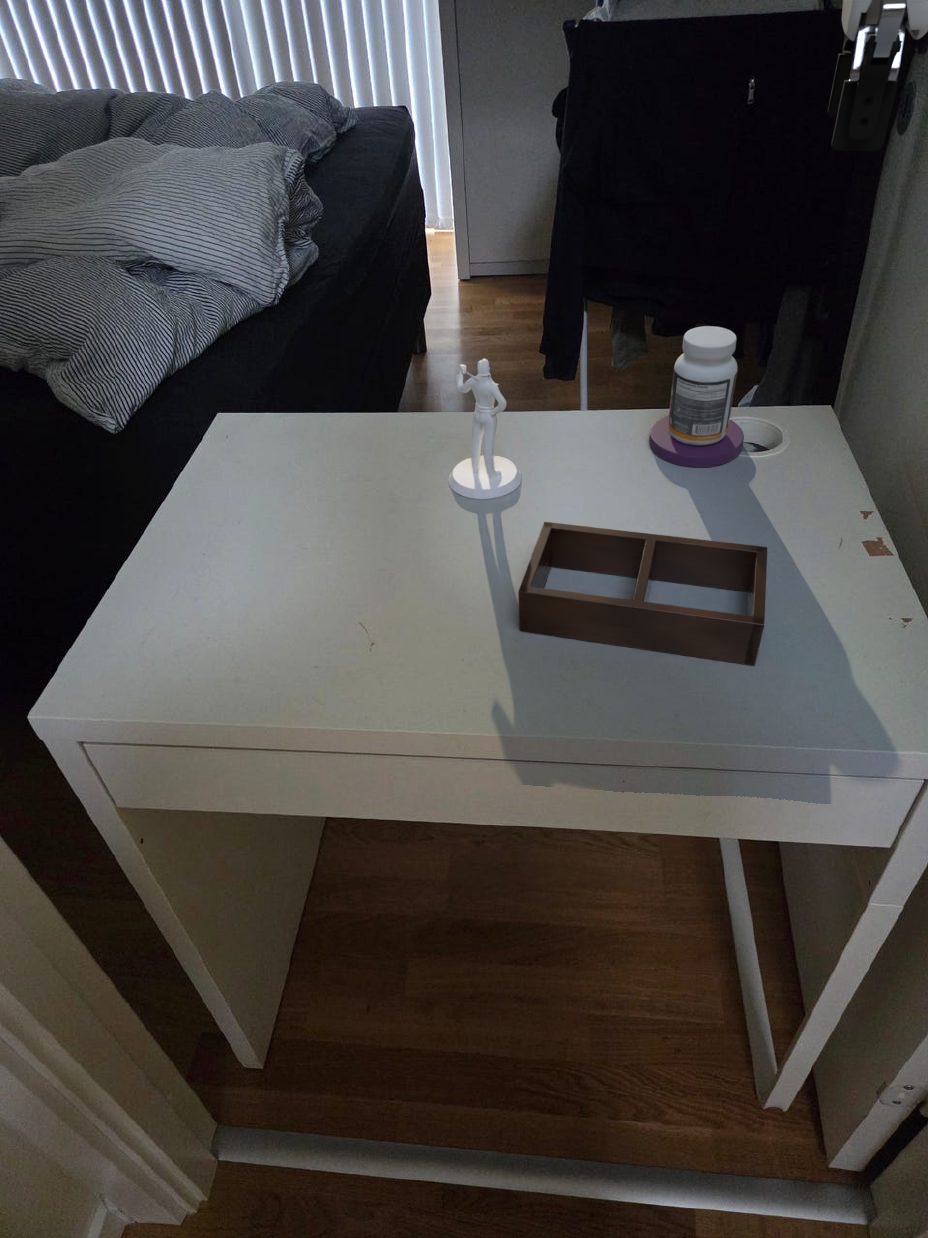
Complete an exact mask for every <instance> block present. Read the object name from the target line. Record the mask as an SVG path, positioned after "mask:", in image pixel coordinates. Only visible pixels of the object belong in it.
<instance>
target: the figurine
mask: <svg viewBox="0 0 928 1238" xmlns="http://www.w3.org/2000/svg"><path fill="white" fill-rule="evenodd" d="M490 369H491V367H490V362H489V360H488V359H487V358H482V359H481V360H478V362H477V367H476V370H477V374H476V375H473V374H472V373H471V372H469V371H468V370H467V365H466V364H459V367H458V372H457V375H456V377H455V378H456V379H455V380H456V381H455V387H456V390H457V391H458V392H459V393H462V394H463V393H464V394H467V393H469V392H470V391H471V392H472V395H473V396H474V399H475V407H474V411H473V416H472V427H471V429H472V430H471V443H470V445H471V446H470V448H471V450H470V455H471V457H469V458H465V459H463V460H462V461H460V462H458V463H457V464H456V465H455V466H454V468H453V470H452V471H451V472H450V474H449V476H448V484H449V487H450V488H451V490H452V491H453V492H455V493H456V494H458V495H460V496H462V497H465V498H468V499H474V500H489V499H497V498H500V497H504V496H505V495H509V494H510V493H512V492H513V491H515V490H516V489H517V488H519V486H520V484H521V483H522V480H523V476H522V473H521V471H520V469H519V468H518V467H517V466H516V464H515V463H514V462H513V461H511V460H510V459H508V458H505V457H503V456H498V455H494V454H495V453H494V451H495V450H494V449H495V448H494V447H495V440H496V439H495V437H496V433H497V426H498V417H497V415H498V414H500V413H502V412H504V411H505V410H506V408H507V400H506V398H505V397H504V395H503V394H502V393H501V391H500V389H499V385H500V384H499V383H496V382H495V381H494V380H493V378H492V374H491V372H490ZM466 374H467V375H468V376H470V377H469V378H468V379H467V380H466V381H465V382H464V375H466ZM496 401H497V403H498V404H497V405H496V406H495V404H496ZM482 444H483V454H482V455H481V451H482Z"/></svg>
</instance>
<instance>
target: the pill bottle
mask: <svg viewBox="0 0 928 1238" xmlns="http://www.w3.org/2000/svg"><path fill="white" fill-rule="evenodd" d="M736 347H737V335H736V334H735V332H733V331H732V330H731V329H728V328H725V327H723V326H722V327H721V326H711V325H704V326H697V327H694V328H690V329H689V330H687V331H686V332H685V333H684V335H683V339H682V352H683V353H682V354H680V356H678V358H677V359H676V360H675V363H674V366H673V374H672V385H671V394H670V402H669V412H668V415H669V421H668V431H669V433H670V435H671V436H672V437H673V438H674V439H676V440H677V441H679V442H681V443H684V444H688V445H696V446H703V445H710V444H713V443H716V442H718V441H720V440H722V439H723V438H724V437H725V435H726V434H727V430H728V425H729V419H730V417H731V412H732V406H733V401H734V396H735V395H734V394H735V388H736V383H737V376H738V363H737V360H736V359H735V357H734V356H732V355H733V354H734V353H735V351H736ZM730 420H731V419H730Z"/></svg>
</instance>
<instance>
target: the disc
mask: <svg viewBox="0 0 928 1238" xmlns="http://www.w3.org/2000/svg"><path fill="white" fill-rule="evenodd" d="M668 421H669V414H667V415H664V416H663V417H660V418H659V419H658V420H655V422H654V423H653V424H652V426H651V427H650V429H649V437H648V438H649V440H648V443H649V448H650V450H651V451H652V452H653V453H654V454H655V455H656V456H657V457H659V458H660V459H662V460H664V461H665V462H668V463H671V464H672V465H673V464H674V465H678V466H681V467H687V468H713V467H717V466H723V465H724V464H727V463H730V462H732V461H734V460H735V459H736V458H737V457H738V456H739V455H740V454H741V452H742V450H743V446H744V441H745V434H744V430H743V429H742V428H741V426H740V425H739V424H737V423H736V422H735V421H733V420H732V419H729V425H728V430H727V434H726V435H725V437H724V438H723V439H722V440H720V441H718V442H716V443H713V444H710V445H703V446H696V445H688V444H684V443H681V442H679V441H677V440H676V439H674V438H673V437H672V436H671V435H670V433H669V431H668Z"/></svg>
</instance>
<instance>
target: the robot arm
mask: <svg viewBox="0 0 928 1238" xmlns="http://www.w3.org/2000/svg"><path fill="white" fill-rule="evenodd" d="M841 10H842V11H841V25H842V29H843V33H844V35H845V36H844V40H843V44H842V52H841V53H838V55H837V62H836V66H835V73H834V77H833V82H832V88H831V92H830V97H829V104H828V107H827V115H828V117H830V118H836V119H835V126H834V129H833V135H832V139H831V148H832V150H833V151H835V152H877V151H880V150H881V149H882V148H883V146H884V144H885V140H886V135H887V131H888V127H889V123H890V119H891V116H892V115H891V114H892V110H893V107H894V102H895V99H896V93H897V90H898V86H899V79H898V76H899V72H900V67H901V61H902V56H903V55H902V54H903V48H904V42H905V35H906V30H908V33H909V34H910V35H911V37H912V39H913V40H920V39H921V38H922V37H924V36H925V35H926V34H927V33H928V0H842V9H841Z"/></svg>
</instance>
